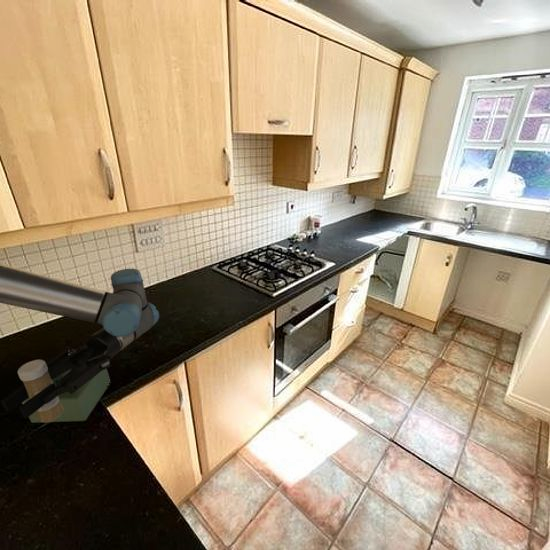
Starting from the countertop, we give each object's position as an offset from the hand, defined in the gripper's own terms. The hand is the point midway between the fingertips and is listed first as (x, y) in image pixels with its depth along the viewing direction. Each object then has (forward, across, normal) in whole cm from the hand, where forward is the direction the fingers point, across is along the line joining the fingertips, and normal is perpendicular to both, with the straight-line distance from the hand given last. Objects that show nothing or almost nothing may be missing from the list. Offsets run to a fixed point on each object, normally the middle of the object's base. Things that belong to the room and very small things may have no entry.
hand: (13, 409), depth 58 cm
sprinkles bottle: (-5, 0, -7) cm, 9 cm away
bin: (-19, +16, -22) cm, 33 cm away
